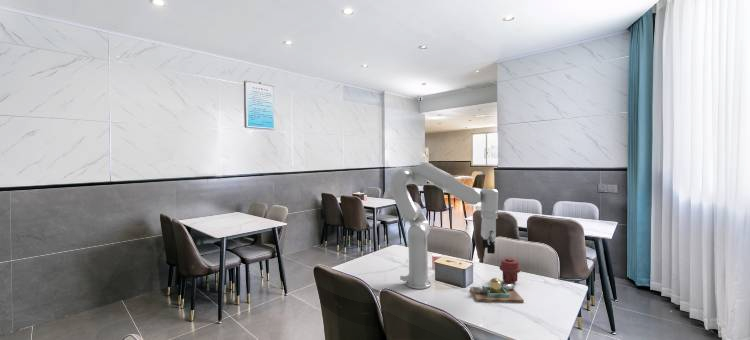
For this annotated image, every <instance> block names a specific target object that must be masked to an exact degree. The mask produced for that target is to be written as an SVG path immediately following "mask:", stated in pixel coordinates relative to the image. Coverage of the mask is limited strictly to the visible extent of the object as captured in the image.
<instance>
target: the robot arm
mask: <svg viewBox="0 0 750 340" xmlns="http://www.w3.org/2000/svg"><path fill="white" fill-rule="evenodd" d="M423 181H425V182H428V183H429V184H430V185H433V186H435V187H437V188H438V189H441V190H442V191H444V192H446V193H448V194H450V195H452V196H453V197H454V198H456V199H458V200H461V202H462V201H463V203H466V204H468V205H471V206H472V205H477V204H478V203H480V218H481V226H480V228H481V229H480V236H481V238H482V248H483V249H487V250H486V251H487V254H496V253H495V252H496V251H495V250H496V249H495V247H496V243H495V242H496V237H497V236H496V235H497V219H498V218H499V216H498V214H499V211H498V210H499V191H498V190H497V188H479V187H474V186H473V187H471V186H470V185H467V184H465V183H464V182H462V181H460V180H458V179H457V178H456V177H455V176H453V175H452V174H451V173H448V172H446V171H444V170H442V169H441V168H438V167H436V166H434V164H432V163H430V162H422V163H420V164H419V165H414V166H411V167H409V168H400V169H397V170H396V171H395V172H394V173H393V175H392V177H391V179H390V181H389V189H390V193H391V195H392V198H393V200H394V202H395V204H396V207H397V209H398V212H399V214H400V216H401V218H402V219H403V221H405V222H408V223H409V225H410V226H409V227H408V230H407V242H408V243H407V244H408V273H407V275H400V277H399V278H400V279H399V280H402V282H405V285H406V286H407V287H409V288H412V289H416V290H423V289H424V290H425V289H427V288H429V287H431V285H432V282H431V281H430V280H429V279H428V278H429V268H428V267H429V266H428V265H429V261H428V260H429V259H428V257H429V255H428V235H429V234H430V232H431V227H430V224H429V222H428V220H427V217H426V215H425V213H424V211H423V209H422V207H421V205H420V204H419V203H418V202H416V201H413V198H412V195H411V194H410V191H409V190H408V188H407V186H408V185H412V184H414V183H415V184H416V183H420V182H423Z"/></svg>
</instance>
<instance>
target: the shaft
mask: <svg viewBox="0 0 750 340" xmlns="http://www.w3.org/2000/svg"><path fill="white" fill-rule="evenodd" d="M501 287H504V289H505V290H506V291H507V292H508V291H509V290H512V289H514V290H515V285H514V283H513V284H508V283H503V284H501Z"/></svg>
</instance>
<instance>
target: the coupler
mask: <svg viewBox="0 0 750 340" xmlns="http://www.w3.org/2000/svg"><path fill="white" fill-rule="evenodd" d="M489 286H490V293H501V287H502V282H501V280H500V279H499V278H495V277H493V278H491V279H490V280H489Z"/></svg>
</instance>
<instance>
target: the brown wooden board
mask: <svg viewBox="0 0 750 340" xmlns="http://www.w3.org/2000/svg"><path fill="white" fill-rule="evenodd" d="M470 291H471V293H472V296H474V299H475V300H476V302H478V303H480V302H481V303H491V302H492V303H516V304H517V303H521V304H522V303H524V301H525V299H523V297H521V295H520V294H519V293H518V292H517V291H516V289H515V288H514V289H512V290H509V291H508V292H507V291H506V290H505V289H504V287H502V286H501V293H490V285H488V286H487V285H482V286H470Z"/></svg>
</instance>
